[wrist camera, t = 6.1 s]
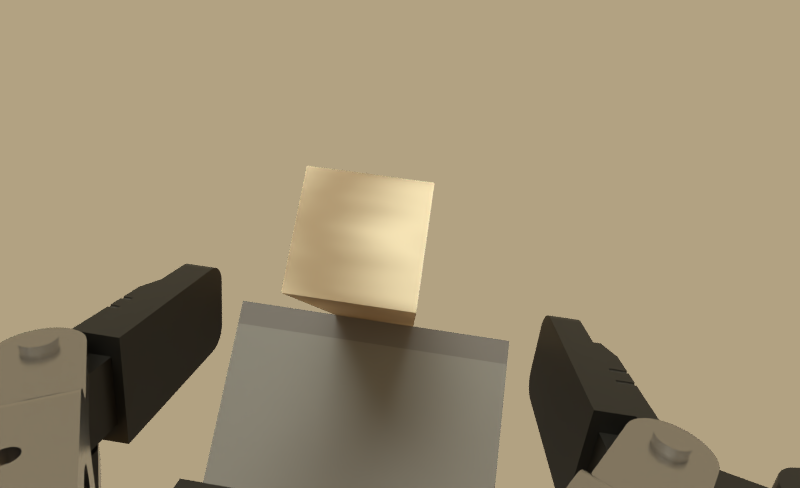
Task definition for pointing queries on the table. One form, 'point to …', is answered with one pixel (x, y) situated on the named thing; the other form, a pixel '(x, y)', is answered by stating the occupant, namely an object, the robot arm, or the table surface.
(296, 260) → the birch bar
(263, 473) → the charcoal pedestal
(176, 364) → the robot arm
